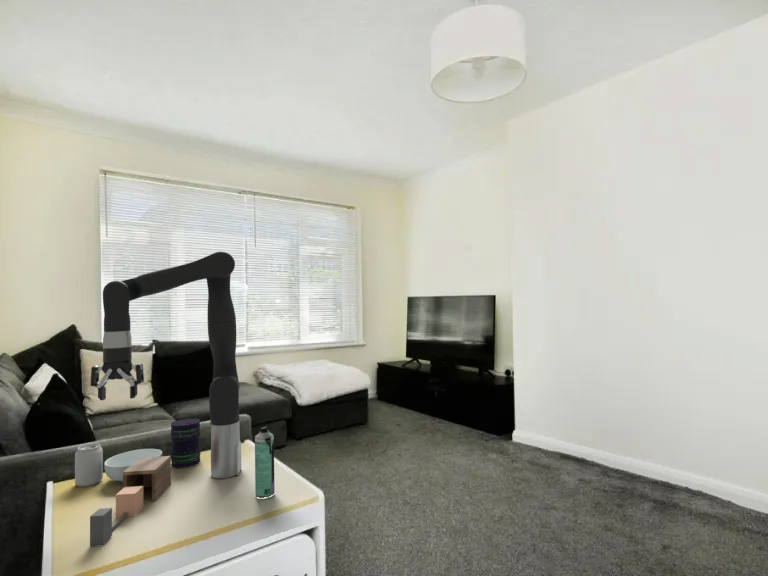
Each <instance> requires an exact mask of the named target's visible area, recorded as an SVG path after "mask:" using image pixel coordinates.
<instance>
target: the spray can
mask: <svg viewBox="0 0 768 576" xmlns="http://www.w3.org/2000/svg"><path fill="white" fill-rule="evenodd" d="M274 439H275V437H274V434H273V433H271V432H270V430H268V427H267V426H262V427H261V428H260V431H259V433H258V434H256V435H255V436H254V467H255V468H254V473H255V474H254V476H255V478H254V479H255V481H254V482H255V484H254V485H255V487H254V488H255V493H254V494H255V498H256V497H259V498H264V497H269V496H271V495H273V494H274V493H275V490H276V489H275V440H274ZM275 494H276V493H275Z"/></svg>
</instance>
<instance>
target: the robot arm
mask: <svg viewBox="0 0 768 576" xmlns="http://www.w3.org/2000/svg"><path fill="white" fill-rule="evenodd" d="M235 266H236V262H235V258H234V257H233V256H232V255H231V253H228V252H226V251H223V250H220V251H219V250H218V251H214V252H212V253H210V254H209V255H206V256H204V257H202V258H200V259H197V260H193V261H190V262H188V263H184V264H180V265H176V266H172V267H168V268H167V267H166V268H164V269H163V268H162V269H159V270H155V271H151V272H147V273H143V274H141V275H140V274H139V275H138V276H136V277H132V278H128V279H125V280H112V281H110V282H108V283H107V284H105V286H104V287H103V289H102V305H103V313H104V316H103V338H102V363H103V364H102V365H93V366H91V369H90V383H89V384H90V386H91V387H95V388H97V398H98V399H99V400H100V401H104V400H107V399H106V398H107V393H106V392H107V388H106V384H108V382H110V380H112V381H113V380H125V382H127V383H128V384H129V385H130V386H129V398H130V399H135V398H136V397H137V396H138V385H140V384H141V383H142V384H143V383H144V382H145V375H144V374H145V372H144V365H143V363H138V364H133V362H132V360H133V359H132V358H133V357H132V353H133V351H132V349H133V347H132V331H131V316H130V302H131V301H134V300H137V299H140V298H143V297H148V296H153V295H156V294H159V293H163V292H167V291H170V290H173V289H176V288H179V287H181V286H184V285H187V284H190V283H193V282H197V281H202V280H206V284H207V285H206V286H207V291H208V292H207V293H208V295H207V296H208V297H207V337H208V343H209V346H210V351H211V356H212V358H213V359H212V360H213V361H212V362H213V363H212V364H213V369H212V371H213V374H212V382H211V383H210V386H209V393H208V401H209V402H208V403H209V419H210V476H211V477H212V478H214V479H228V478H231V477H235V475H238V476H239V474H240V472H241V471H240V470H242V441H241V440H240V436H241V435H240V403H239V401H240V398H239V394H240V393H239V391H240V381H239V376H238V370H237V369H238V368H237V362H236V350H237V317H236V311H235V307H234V304H233V303H234V302H233V300H232V295H231V275H232V274H233V272H234V269H235V268H236V267H235ZM132 370H133V371H134V372H135V376H136V377H135V376H134V375H133V374H132V372H131V371H132ZM101 372H103V374H104V375H103V376H102V377H101V378H100V373H101Z"/></svg>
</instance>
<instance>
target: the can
mask: <svg viewBox="0 0 768 576" xmlns="http://www.w3.org/2000/svg"><path fill="white" fill-rule="evenodd" d="M103 450H104V449H103V447H102V446H101V443H89V444H84V445H81V446H78V447H77V451H76V452H75V454H74V484H75V485H76V486H77V487H79V488H87V487H91V486H95V485H96V484H99V483H100V482H101V481H102V480H103V477H104V474H103V471H104V467H103V465H104V462H103V460H104V459H103V458H104V455H103V453H104V451H103ZM98 482H99V483H98ZM94 484H95V485H94Z"/></svg>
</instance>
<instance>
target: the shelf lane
mask: <svg viewBox="0 0 768 576" xmlns="http://www.w3.org/2000/svg"><path fill="white" fill-rule="evenodd" d="M171 463H172V462H171V455H162V456H160V457H144V458H140V459H139V460H137V461H136V462H135V463H134V464H132V465H131V466H130V467H129V468H127V469H126V470H125V471H124V472H123V482H122V489H123V488H124V487H135V486H143V488H151V496H152V497H151V501H152V502H157V501H158V499H159V498H160V497H162V495H163V494H164V492H166V490H167V489H168V488H169V487H170V486H171V484H172V467H171Z"/></svg>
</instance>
